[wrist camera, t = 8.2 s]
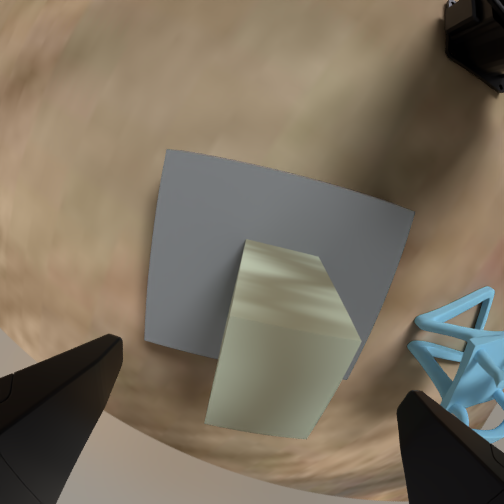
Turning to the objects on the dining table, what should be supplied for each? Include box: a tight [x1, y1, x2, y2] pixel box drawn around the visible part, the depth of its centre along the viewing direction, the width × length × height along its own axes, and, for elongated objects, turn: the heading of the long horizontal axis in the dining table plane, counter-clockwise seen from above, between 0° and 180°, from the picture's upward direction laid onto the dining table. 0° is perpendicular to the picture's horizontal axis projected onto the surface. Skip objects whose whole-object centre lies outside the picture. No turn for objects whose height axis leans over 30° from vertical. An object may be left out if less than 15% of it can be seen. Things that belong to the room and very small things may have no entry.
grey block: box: [144, 149, 415, 380], centre depth 18 cm, size 14×12×4 cm
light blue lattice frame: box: [407, 286, 504, 443], centre depth 15 cm, size 8×8×12 cm
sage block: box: [204, 239, 362, 439], centre depth 13 cm, size 4×5×8 cm
